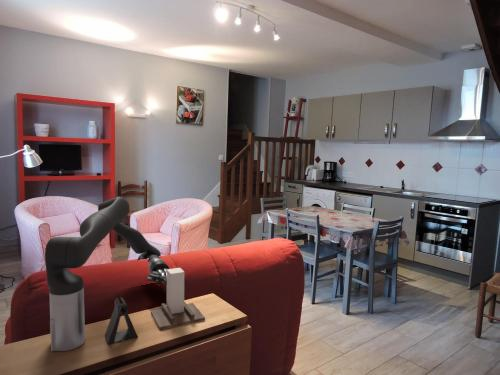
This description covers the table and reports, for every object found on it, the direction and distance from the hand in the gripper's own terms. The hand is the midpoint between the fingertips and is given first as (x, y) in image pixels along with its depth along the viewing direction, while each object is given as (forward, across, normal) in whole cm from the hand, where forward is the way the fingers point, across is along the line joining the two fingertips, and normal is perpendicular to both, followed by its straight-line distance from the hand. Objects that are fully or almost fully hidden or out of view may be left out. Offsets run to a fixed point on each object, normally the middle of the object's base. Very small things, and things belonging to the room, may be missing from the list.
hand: (169, 282), depth 136 cm
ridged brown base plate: (+11, 0, +9) cm, 14 cm away
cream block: (+8, 0, +8) cm, 11 cm away
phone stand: (+16, -20, +9) cm, 27 cm away
